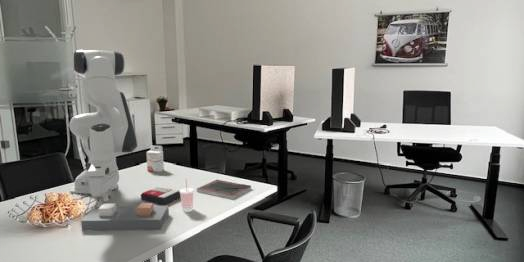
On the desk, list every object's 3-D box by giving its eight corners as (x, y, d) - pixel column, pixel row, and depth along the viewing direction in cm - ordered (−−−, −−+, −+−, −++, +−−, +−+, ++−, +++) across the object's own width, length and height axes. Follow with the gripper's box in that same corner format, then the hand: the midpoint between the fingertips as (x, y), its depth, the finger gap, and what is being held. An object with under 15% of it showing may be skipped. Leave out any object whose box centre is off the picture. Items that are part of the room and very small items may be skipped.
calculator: (157, 186, 183) (180, 189, 176) (158, 194, 184) (181, 198, 176) (140, 192, 174) (163, 196, 166) (140, 201, 174) (164, 206, 167)
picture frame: (251, 190, 188) (216, 183, 199) (251, 185, 188) (216, 179, 198) (232, 200, 174) (196, 193, 185) (232, 195, 174) (196, 188, 184)
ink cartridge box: (147, 171, 219) (145, 146, 216) (151, 168, 224) (149, 145, 221) (160, 172, 217) (158, 147, 214) (164, 169, 222) (163, 145, 219)
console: (82, 230, 143) (81, 220, 142) (97, 215, 156) (96, 206, 156) (160, 229, 143) (160, 219, 143) (168, 214, 157) (168, 205, 156)
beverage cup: (196, 210, 161) (195, 179, 159) (183, 213, 158) (181, 182, 155) (191, 206, 166) (190, 175, 164) (178, 208, 163) (176, 178, 161)
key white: (99, 218, 147) (98, 208, 146) (104, 213, 152) (103, 203, 151) (112, 218, 147) (111, 208, 146) (116, 212, 152) (115, 203, 151)
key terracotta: (137, 217, 147) (137, 208, 146) (141, 212, 152) (140, 203, 151) (150, 217, 147) (149, 207, 146) (153, 212, 152) (153, 203, 151)
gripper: (106, 159, 155) (109, 191, 158) (84, 173, 135) (88, 209, 138) (121, 159, 156) (124, 190, 158) (102, 173, 135) (105, 209, 138)
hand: (107, 199), depth 148 cm, fingers closed
